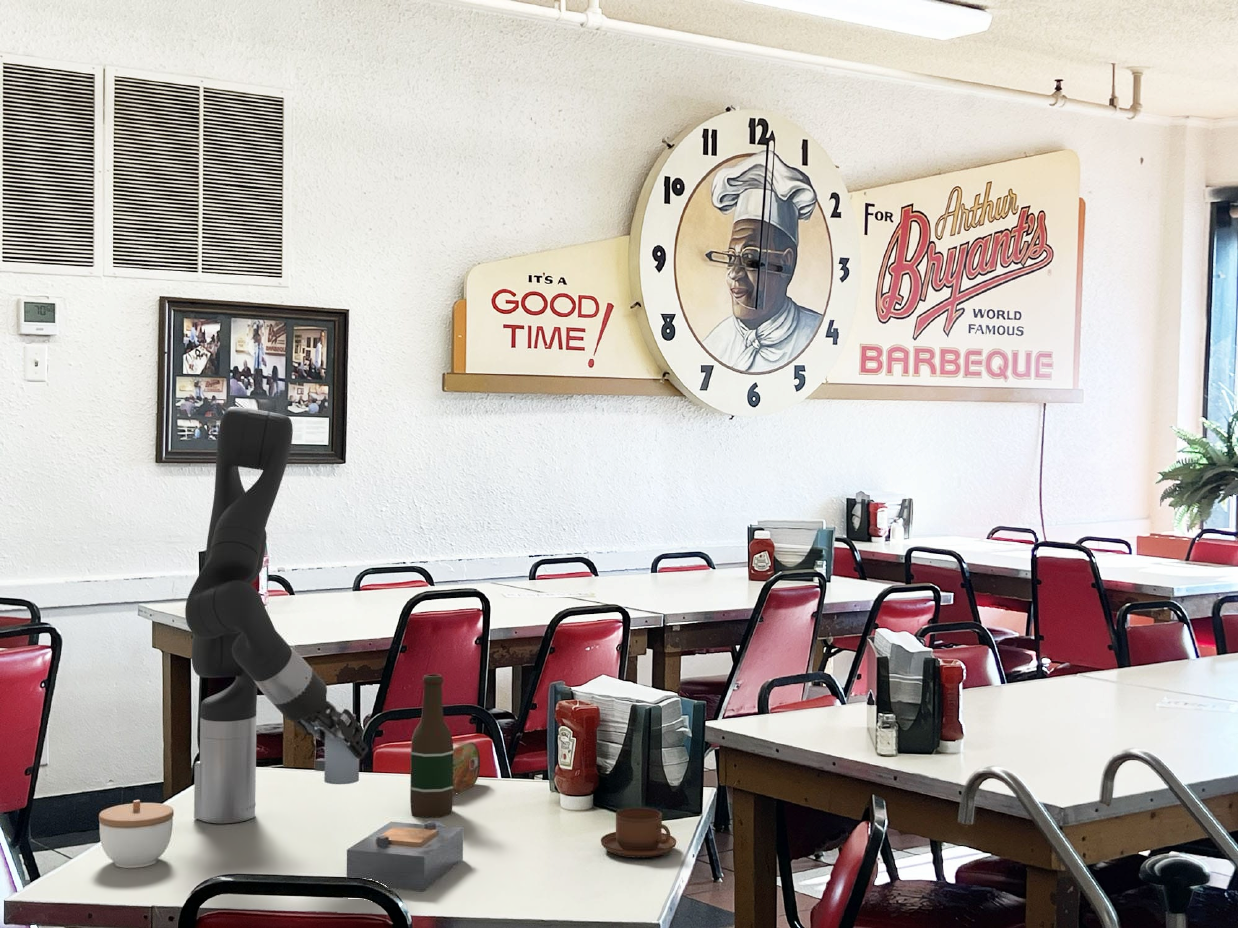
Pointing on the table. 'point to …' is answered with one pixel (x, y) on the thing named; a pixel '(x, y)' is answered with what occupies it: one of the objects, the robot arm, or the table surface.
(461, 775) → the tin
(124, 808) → the lidded jar
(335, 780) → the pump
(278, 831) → the table surface
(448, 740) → the beer bottle
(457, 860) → the grey block with pad
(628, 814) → the cup and saucer
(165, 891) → the table surface
